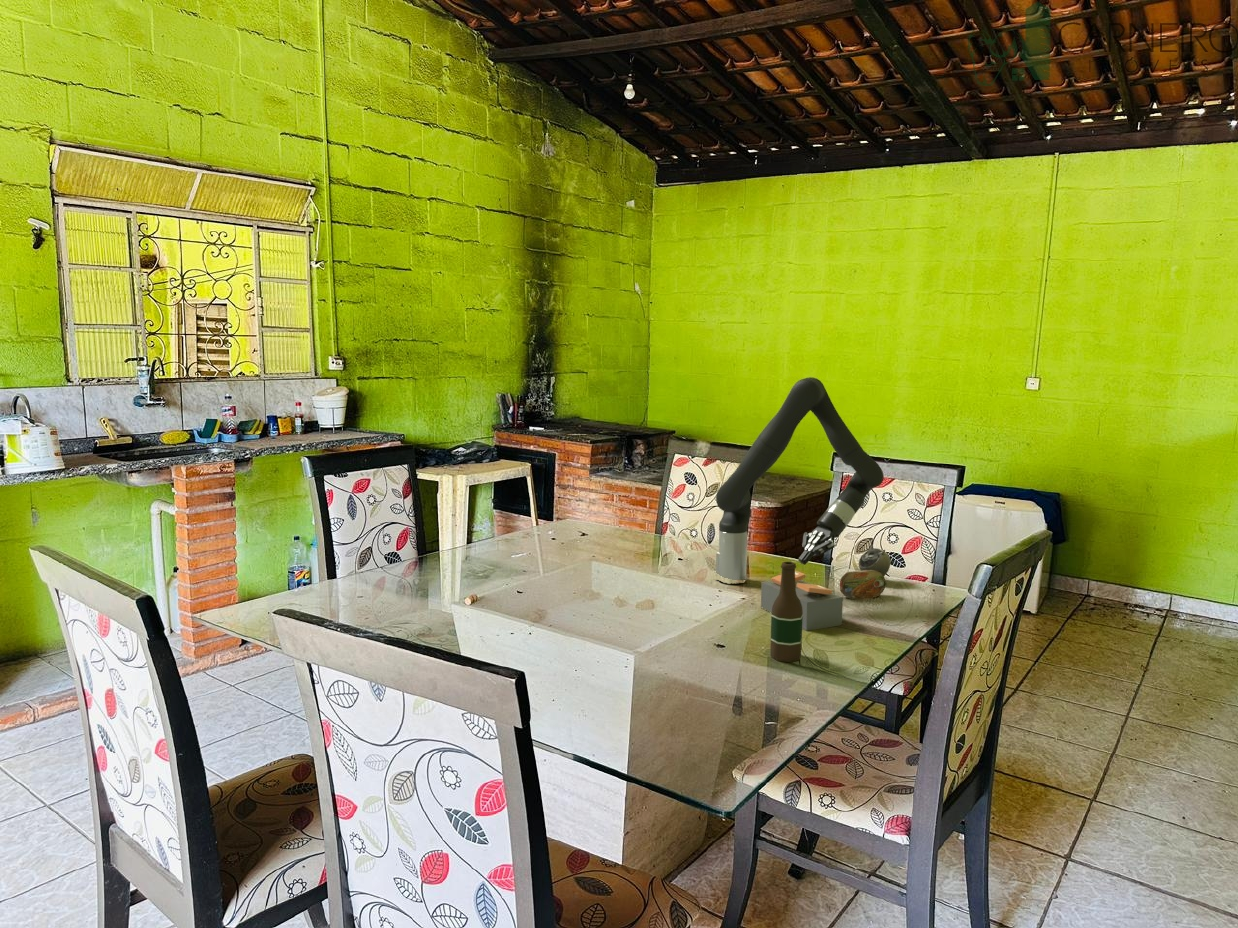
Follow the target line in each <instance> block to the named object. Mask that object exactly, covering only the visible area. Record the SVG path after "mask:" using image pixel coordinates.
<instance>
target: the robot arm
mask: <svg viewBox="0 0 1238 928" xmlns="http://www.w3.org/2000/svg"><path fill="white" fill-rule="evenodd" d="M809 412H812V413H813V415H814V416H815V417H816V418H817V420H818V421H819V423H820V424H821V427H822V428H823V431H824V433H825V435H826V437H827V440H828V441H829V443H830V445H831V447H832V448H833V450H834V451H835V453H836V454H837V455H838V458H839V459H840V460H841V461H842V462H843V464H844V465H845V466H848V467H849V466H850V467H851V468H852V469H853V470H854V471H855V473H854V474H852V476H851V478H850V480H849V481H848V483H847V484H846V486H845V488H844V489H843V490H842V491H841V492H840V494H838V495H837V498H836V499H835V500H834V501H833V502H832V503H831V504H829V506H828V507H827V509H826V510H825V511H824V512H823V514H822V515H821V516H820V517H819V518H818V520H817V521H816V525H817V526H816V527H815V528H814V529H813V530H812V531H811V532H809V533H808V532H806V531H805V532H804V533H803V536H802V543H801V545H802V546H801V547H802V548H803V549H804V550H803V552H802V553H801V555H800V556H799V557H798V562H799V563H800V564H802V565H806V564H807V563H809V562H810V560H811V559H812V558H813V557H815V556H819V557H820V556H822V555H823V554H826V553H827V552H828V551H830V550H832V549H834V548H835V547H836V545H835V543H834V540H835V538H838V537H840V536H841V534H842V533H843V531H844V530H845V529H846V528H847V527H848V525H849V524H850V523H851V521H852V520H853V518H854V516H855V514H857V512H858V511H859V510H860V508H861V507H862V506H863V504H864V502H865V498H866V496H868V494H869V493H870V491H871V490H873V489H875V488H878V487H879V486H881V485H882V484H883V482H884V478H885V477H884V471H883V470H882V468H881V466H880V464H879V463H877V462H876V460H874V458H872V456H871V455H869V453H867V452H866V451H865V450H864V449H863V447H862V446H861V444H860V443H859V442H858V440H857V439H856V438H855V436H854V434H853V433H852V432H851V430H850V429H849V427H848V426H847V425H846V422H845V421H844V420H843V419H842V417H841V416H840V415H839V412H838V411H837V408H836V407H835V405H834V404H833V402H832V400H831V398H830V396H829V394H828V392H827V389H826V387H825V385H824V383H823V382H822V381H821V380H820V379H818V378H816V377H812V376H811V377H810V376H809V377H805V378H801V379H799V380H798V381H796V382H795V383H794V385H793V386H792V387H791V389H790V391H789V392H788V395H787V397H786V398H785V400H784V402H783V403H782V405H781V407H780V408H779V409H778V412H777V413H776V414H775V415H774V416H773V417H772V419H770V421H769V422H768V423H767V424H766V426H765V427H764V428H763V429H762V431H761V432H760V433H759V435H758V436H757V438H756V439H755V440H754V442H753V443H752V444H751V446H750V448H749V449H748V451H747V452H746V454H745V455H744V457H743V458H742V460H741V461H740V463H739V465H738V466H737V467H736V469H735V471H734V472H732V474H731V475H730V476H729V477H728V478H727V480H725V482H724V483H723V484H722V485H721V486H720V487H719V488H718V490H717V491H716V497H715V501H716V504H717V507H718V508H719V509H720V510H721V511H723V514H722V517H721V519H720V521H719V522H718V551H716V553H715V574H716V573H717V574H719V575H720V576H722V577H724V578H728V579H732V580H745V579H746V580H747V555H748V554H747V552H748V526H749V522H750V519H751V518H750V517H751V501H752V500H751V492H750V490H751V488H752V487H753V485H754V484H755V483H756V482H757V481H758V479H759V478H761V477H762V476H763V475H764V474H765V473H766V472H767V471H768V470H770V469H771V467H772V466H774V465H775V464H776V463H777V461H778V459H780V457H781V456H782V454H783V453H784V451H785V450H786V449H787V447H788V445H789V443H790V441H791V439H792V437H793V435H794V433H795V430H796V429H797V427H798V425H799V424H800V423H801V421H802V420H803V419H804V418H805V417H806V416H807V415H808V413H809Z"/></svg>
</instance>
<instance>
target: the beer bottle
mask: <svg viewBox="0 0 1238 928" xmlns="http://www.w3.org/2000/svg"><path fill="white" fill-rule="evenodd" d="M780 568H781V574H782V575H781V574H780V575H781V586H780V592H779V595H778V597H777V598H776V600H775V601H774V604H773V606H772V613H770V614H771V615H770V616H771V617H770V618H771V621H770V648H769V649H770V657H771V658H772V659H774V660H776V661H778V662H784V663H794V662H799V661H800V658H801V656H802V647H803V645H802V643H803V629H802V620H803V610H802V604H801V601H800V600H799V598H798V597H797V595H796V588H795V570H796V568H797V564H796V563H795V562H792V561H783V562H781V565H780Z"/></svg>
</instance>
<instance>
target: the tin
mask: <svg viewBox="0 0 1238 928" xmlns="http://www.w3.org/2000/svg"><path fill="white" fill-rule="evenodd" d="M886 582H887V581H886V578H885V576H883V574H882V573H881V572H879V571H875V570H864V571H860V570H856V571H848V572H846V573H845V574H843V575H842V576H841V577H840V580H839V590H840V593H841V594H842V596H845V598H848V599H850V600H859V599H870V598H877V597H879V596H881V594H883V592H884V590H885V587H886V585H887V583H886Z"/></svg>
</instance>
